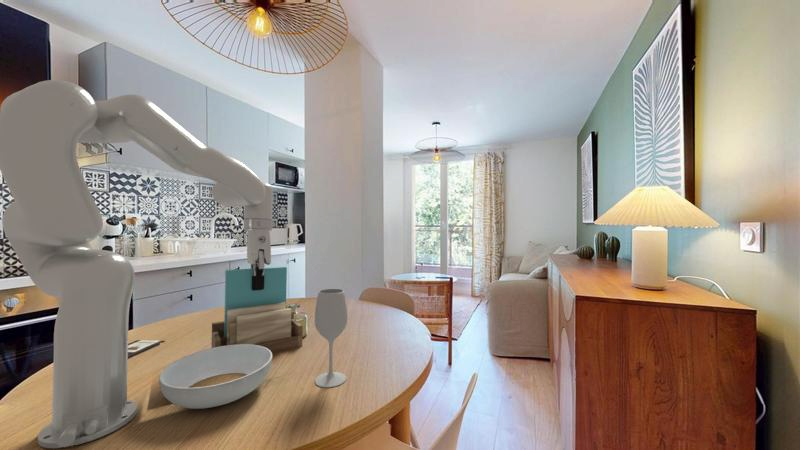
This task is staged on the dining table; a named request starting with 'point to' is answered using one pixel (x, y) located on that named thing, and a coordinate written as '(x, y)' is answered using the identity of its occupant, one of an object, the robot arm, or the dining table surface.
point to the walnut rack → (273, 345)
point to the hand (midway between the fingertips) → (256, 288)
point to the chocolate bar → (141, 346)
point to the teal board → (244, 296)
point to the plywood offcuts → (258, 324)
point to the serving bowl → (211, 364)
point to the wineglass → (330, 329)
